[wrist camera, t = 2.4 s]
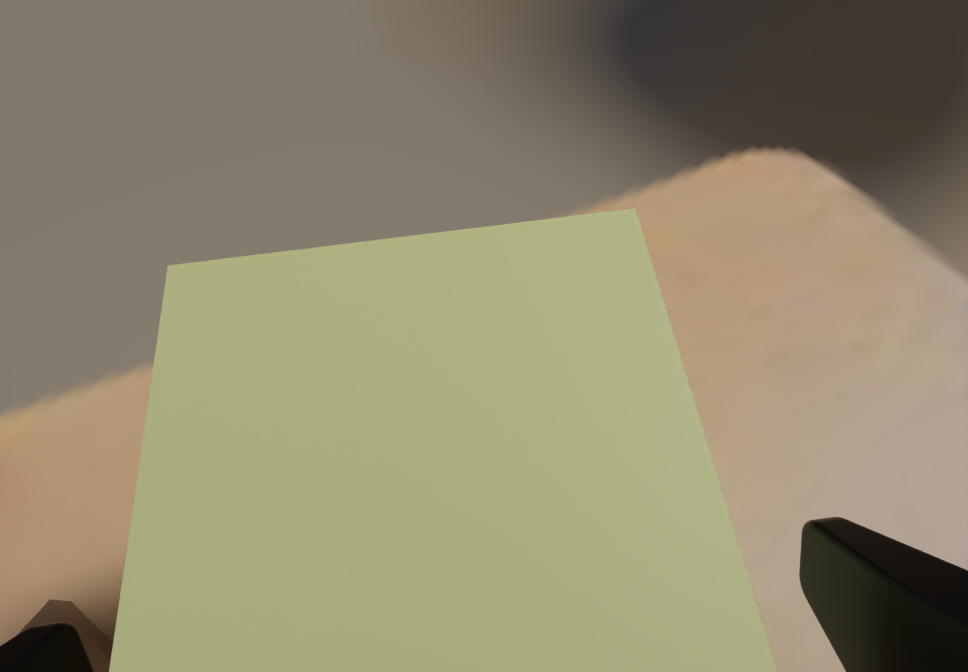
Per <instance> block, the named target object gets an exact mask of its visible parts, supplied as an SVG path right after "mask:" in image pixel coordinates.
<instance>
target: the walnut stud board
mask: <svg viewBox="0 0 968 672" xmlns="http://www.w3.org/2000/svg"><path fill="white" fill-rule="evenodd" d="M56 622H69V623H71V624H73V625H74V626H75V627H76V629H77V631H78V633H79V635H80V638H81V640H82V643H83V645H84V648H85V650H86V653H87V655H88V658H89V660H90V663H91V665H92V668H93V671H94V672H109V668H110V661H111V654H112V647H113V643H112V642H111V641H110V640H109V639H108V638H107V637H106V636H105V635H104V634H103V633H102V632H101V631H100V630H99V629H98V628H97V627H96V626H95V625H94V624H93V623H92V622H91V621H90V620H89V619H88V618H87V617H86V616H85V615H84V614H83V613H82V612H81V611H80V610H79V609H78V608H77V607H76V606H75V605H74V604H73V603H72V602H69V601H59V600H49V601H48V603H47V604H46V605H45V606H44V607H43V608H42V609H41V610H40V611H39V612H38V613H37V614H36V615H35V617H34V618H33V619H32V620H31V621H30V622H29V623H28V624H27V625H26V626H25V627H24V628H23V629H22V631H21V632H20V633H22V632H23V631H25V630H26V629H28V628H30V627H33V626H36V625H41V624H49V623H56ZM20 633H19V634H20ZM19 634H18V635H19Z"/></svg>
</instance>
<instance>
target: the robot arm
mask: <svg viewBox="0 0 968 672" xmlns="http://www.w3.org/2000/svg"><path fill="white" fill-rule="evenodd" d="M800 583H801V587H802V590H803V593H804V595H805V597H806V599H807V601H808V603H809V605H810V606H811V608H812V610H813V612H814V614H815V616H816V617H817V619H818V621H819V623H820V625H821V627H822V628H823V630H824V632H825V634H826V636H827V638H828V639H829V641H830V643H831V645H832V647H833V649H834V650H835V652H836V654H837V656H838V658H839V660H840V661H841V663H842V665H843V667H844V669H845V671H846V672H968V570H965V569H963V568H960V567H958V566H956V565H953V564H951V563H949V562H946V561H944V560H941V559H939V558H937V557H934V556H932V555H930V554H927V553H925V552H922V551H920V550H918V549H915V548H913V547H910V546H908V545H906V544H903V543H901V542H899V541H896V540H894V539H891V538H889V537H887V536H884V535H882V534H880V533H877V532H875V531H872V530H870V529H868V528H865V527H863V526H861V525H858V524H856V523H853V522H851V521H849V520H846V519H844V518H840V517H831V518H824V519H816V520H810V521H808V522H807V523H806V524H805V525H804V527H803V530H802V539H801V556H800ZM0 672H94V671H93V668H92V665H91V663H90V660H89V658H88V655H87V653H86V650H85V648H84V645H83V643H82V640H81V638H80V635H79V633H78V631H77V629H76V627H75V626H74V625H73V624H71V623H69V622H56V623H49V624H41V625H36V626H33V627H30V628H28V629H26V630H25V631H23V632H22V633H20V634H19V635H17V636H15V637H14V638H12V639H11V640H9V641H8V642H6V643H5V644H3V645H1V646H0Z"/></svg>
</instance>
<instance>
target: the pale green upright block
mask: <svg viewBox="0 0 968 672" xmlns="http://www.w3.org/2000/svg"><path fill="white" fill-rule="evenodd" d="M109 672H777V668H776V665H775V662H774V659H773V655H772V652H771V649H770V646H769V642H768V639H767V636H766V633H765V629H764V626H763V623H762V620H761V616H760V613H759V610H758V607H757V603H756V600H755V597H754V593H753V590H752V587H751V584H750V580H749V577H748V574H747V571H746V567H745V564H744V561H743V558H742V554H741V551H740V548H739V545H738V541H737V538H736V535H735V532H734V528H733V525H732V522H731V519H730V515H729V512H728V509H727V506H726V502H725V499H724V496H723V493H722V489H721V486H720V483H719V480H718V476H717V473H716V470H715V467H714V463H713V460H712V457H711V454H710V450H709V447H708V444H707V441H706V437H705V434H704V431H703V427H702V424H701V421H700V418H699V414H698V411H697V408H696V405H695V401H694V398H693V395H692V392H691V388H690V385H689V382H688V379H687V375H686V372H685V369H684V366H683V362H682V359H681V356H680V353H679V349H678V346H677V343H676V340H675V336H674V333H673V330H672V327H671V323H670V320H669V317H668V314H667V310H666V307H665V304H664V301H663V297H662V294H661V291H660V288H659V284H658V281H657V278H656V275H655V271H654V268H653V265H652V261H651V258H650V255H649V252H648V248H647V245H646V242H645V239H644V235H643V232H642V229H641V226H640V222H639V219H638V216H637V213H636V209H635V208H634V209H626V210H618V211H609V212H601V213H593V214H585V215H577V216H569V217H561V218H552V219H544V220H536V221H528V222H520V223H512V224H503V225H495V226H487V227H480V228H471V229H463V230H455V231H447V232H438V233H430V234H423V235H414V236H406V237H398V238H390V239H382V240H373V241H365V242H357V243H349V244H340V245H333V246H324V247H316V248H308V249H300V250H291V251H283V252H276V253H267V254H259V255H251V256H244V257H235V258H226V259H218V260H210V261H203V262H194V263H185V264H177V265H169V266H168V270H167V277H166V283H165V290H164V298H163V304H162V311H161V318H160V325H159V332H158V338H157V345H156V352H155V359H154V366H153V373H152V380H151V386H150V393H149V400H148V407H147V414H146V421H145V428H144V434H143V441H142V448H141V455H140V462H139V469H138V476H137V483H136V489H135V496H134V503H133V510H132V517H131V524H130V531H129V538H128V544H127V551H126V558H125V565H124V572H123V579H122V586H121V592H120V599H119V606H118V613H117V620H116V627H115V634H114V641H113V647H112V654H111V661H110V668H109Z"/></svg>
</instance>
